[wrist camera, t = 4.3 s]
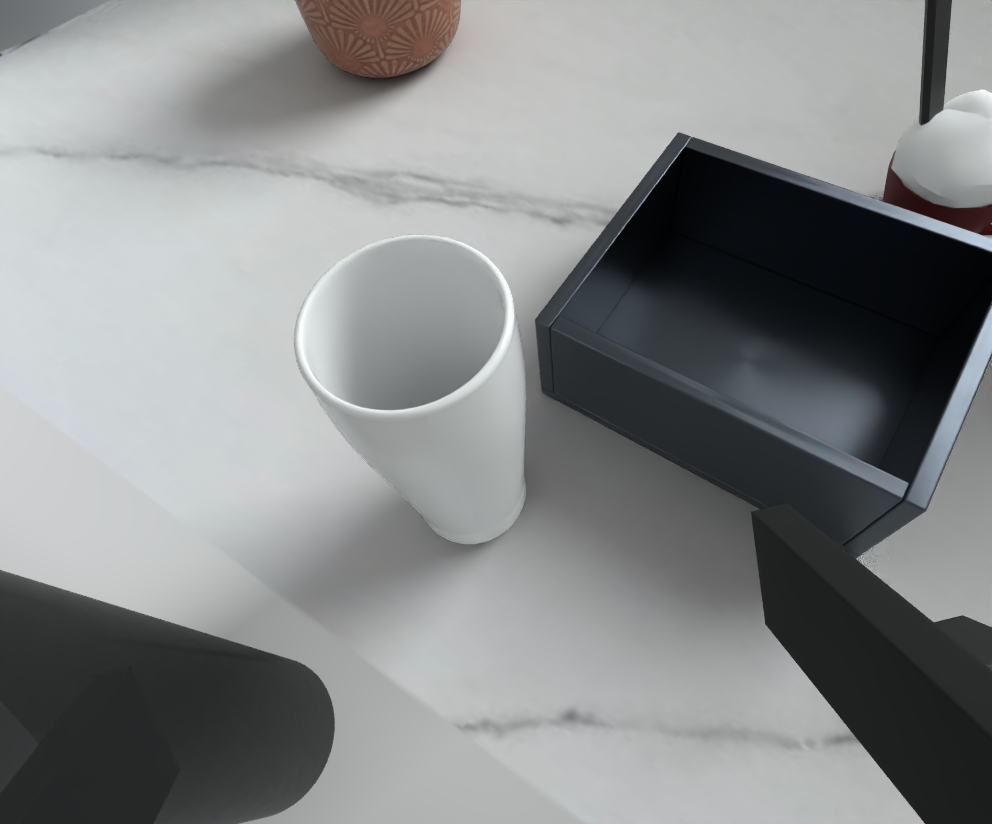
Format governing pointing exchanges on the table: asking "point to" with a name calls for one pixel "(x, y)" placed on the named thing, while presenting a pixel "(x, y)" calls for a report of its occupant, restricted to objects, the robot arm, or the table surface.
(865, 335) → the dark storage bin
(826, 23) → the table surface
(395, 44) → the planter
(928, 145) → the cocoa
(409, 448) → the white cup
